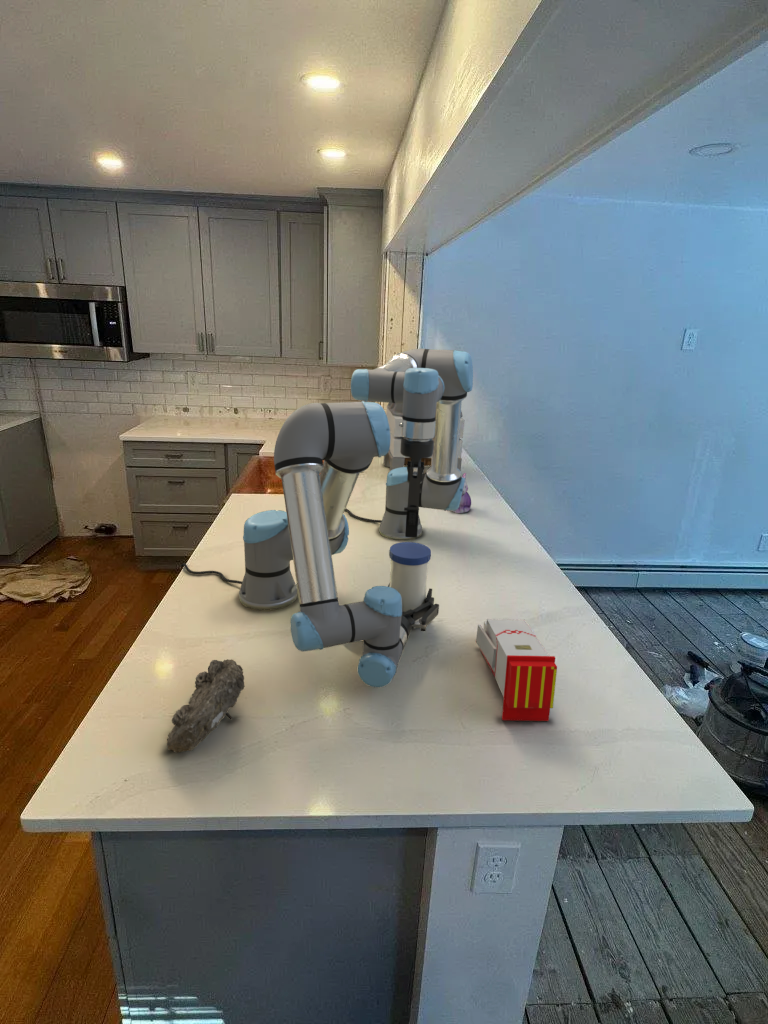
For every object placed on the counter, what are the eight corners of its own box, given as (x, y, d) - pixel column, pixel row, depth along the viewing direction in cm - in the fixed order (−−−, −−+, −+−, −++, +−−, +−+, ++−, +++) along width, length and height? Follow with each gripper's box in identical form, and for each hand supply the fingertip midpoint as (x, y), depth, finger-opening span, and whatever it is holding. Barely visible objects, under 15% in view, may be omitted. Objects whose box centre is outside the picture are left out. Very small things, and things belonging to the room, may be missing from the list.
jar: (380, 618, 145) (383, 550, 139) (404, 606, 151) (409, 541, 145) (406, 633, 139) (411, 562, 133) (431, 620, 145) (436, 552, 139)
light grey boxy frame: (382, 463, 289) (386, 382, 275) (445, 464, 293) (451, 384, 279) (390, 482, 257) (394, 392, 243) (460, 483, 261) (468, 394, 247)
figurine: (457, 515, 220) (461, 478, 215) (443, 507, 229) (446, 471, 224) (477, 512, 224) (481, 475, 219) (462, 504, 233) (466, 469, 228)
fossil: (192, 660, 117) (244, 628, 112) (224, 691, 120) (276, 661, 115) (142, 746, 98) (202, 712, 93) (182, 779, 101) (242, 748, 96)
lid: (380, 555, 139) (380, 548, 138) (408, 545, 146) (409, 538, 145) (411, 569, 132) (411, 562, 132) (439, 557, 139) (439, 551, 139)
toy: (523, 604, 135) (566, 662, 106) (518, 656, 138) (559, 727, 109) (472, 603, 135) (501, 661, 105) (468, 655, 138) (496, 726, 108)
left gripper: (343, 641, 130) (368, 596, 151) (439, 657, 125) (452, 609, 146) (343, 612, 128) (369, 571, 148) (442, 628, 123) (454, 583, 143)
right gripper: (403, 427, 141) (398, 509, 148) (398, 449, 118) (393, 545, 126) (433, 428, 140) (427, 511, 148) (434, 451, 118) (427, 547, 125)
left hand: (410, 590), depth 147 cm, fingers open, 10 cm apart
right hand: (411, 527), depth 137 cm, fingers open, 11 cm apart
